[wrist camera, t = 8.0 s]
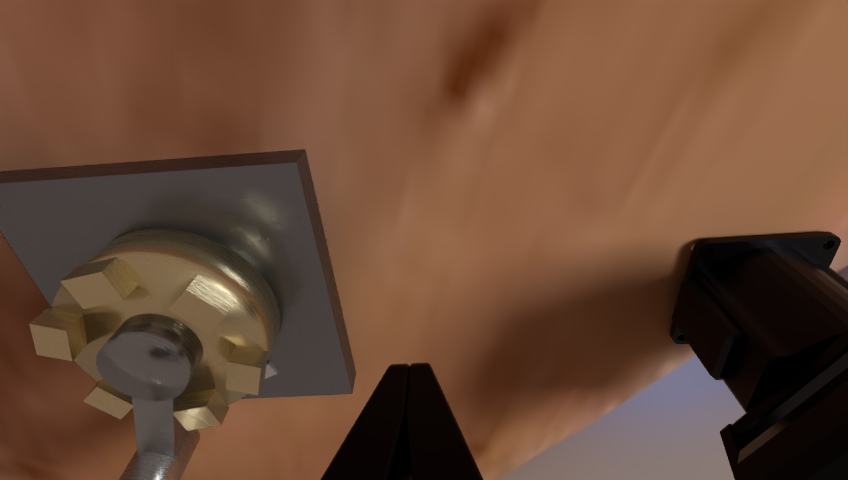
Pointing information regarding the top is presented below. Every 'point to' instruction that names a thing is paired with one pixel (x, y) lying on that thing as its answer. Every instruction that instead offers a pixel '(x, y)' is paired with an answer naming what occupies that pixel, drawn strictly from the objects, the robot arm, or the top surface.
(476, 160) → the top surface
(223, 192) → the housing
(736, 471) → the robot arm
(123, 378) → the crank mechanism
